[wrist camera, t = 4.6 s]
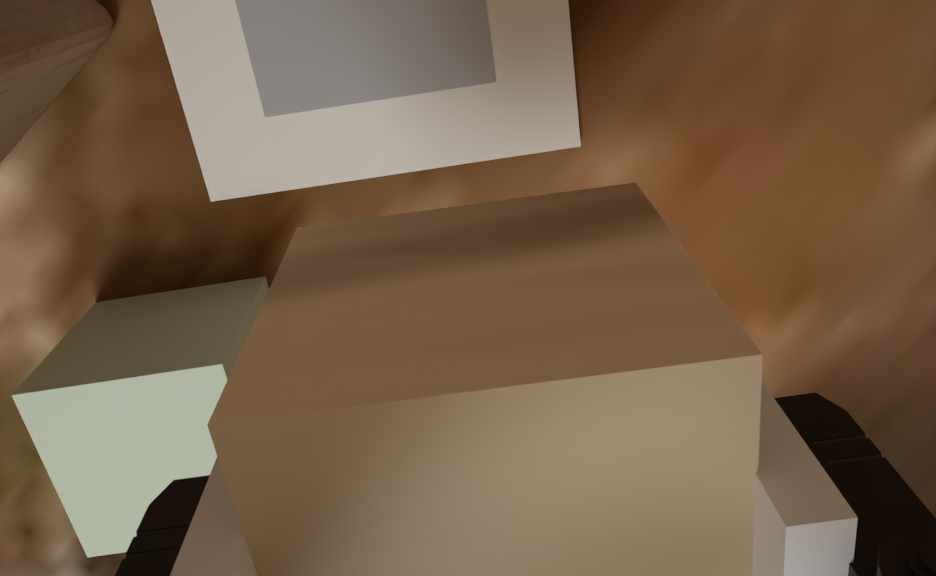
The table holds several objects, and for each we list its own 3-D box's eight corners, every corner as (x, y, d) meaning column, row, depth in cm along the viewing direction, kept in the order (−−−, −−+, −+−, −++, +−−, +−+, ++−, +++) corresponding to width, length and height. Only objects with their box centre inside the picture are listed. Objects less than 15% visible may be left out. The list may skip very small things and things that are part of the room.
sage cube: (96, 301, 28) (11, 395, 22) (266, 275, 27) (222, 364, 22) (151, 441, 30) (87, 557, 25) (307, 419, 30) (277, 530, 24)
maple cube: (296, 227, 14) (208, 424, 9) (635, 182, 14) (762, 353, 8) (359, 494, 17) (320, 776, 11) (645, 459, 16) (749, 727, 11)
